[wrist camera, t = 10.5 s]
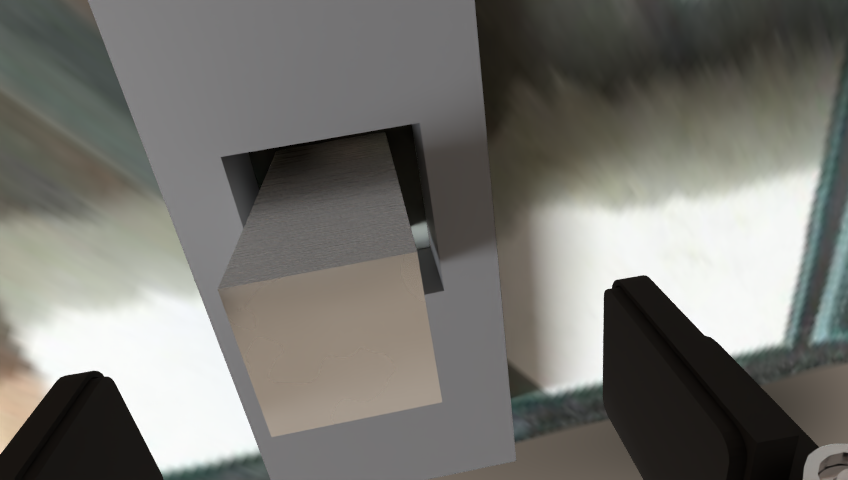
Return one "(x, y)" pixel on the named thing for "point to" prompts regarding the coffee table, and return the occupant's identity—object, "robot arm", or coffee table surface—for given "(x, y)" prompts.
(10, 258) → the coffee table surface
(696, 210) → the coffee table surface
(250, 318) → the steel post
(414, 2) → the grey block with hole
